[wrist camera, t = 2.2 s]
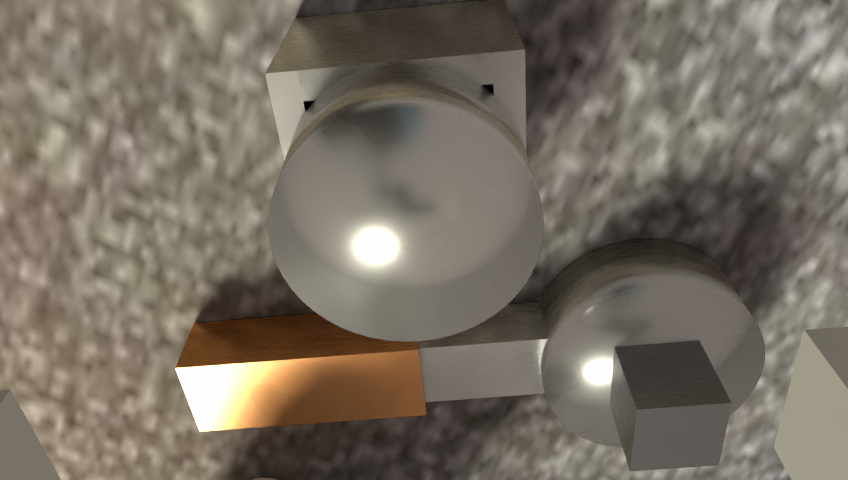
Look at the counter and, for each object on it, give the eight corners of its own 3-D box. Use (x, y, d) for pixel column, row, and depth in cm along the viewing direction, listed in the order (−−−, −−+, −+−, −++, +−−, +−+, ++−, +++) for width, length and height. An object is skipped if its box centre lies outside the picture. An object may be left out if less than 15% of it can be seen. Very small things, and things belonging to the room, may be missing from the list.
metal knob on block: (294, 18, 21) (238, 121, 15) (503, -2, 21) (544, 94, 14) (329, 199, 25) (296, 350, 18) (508, 183, 24) (543, 331, 18)
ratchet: (177, 276, 26) (122, 390, 21) (748, 230, 26) (829, 337, 21) (228, 421, 31) (192, 544, 26) (718, 386, 30) (779, 506, 25)
